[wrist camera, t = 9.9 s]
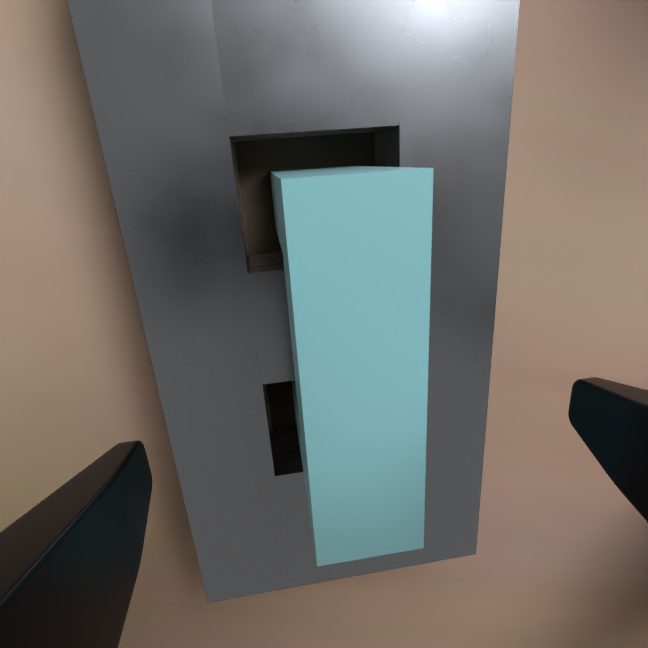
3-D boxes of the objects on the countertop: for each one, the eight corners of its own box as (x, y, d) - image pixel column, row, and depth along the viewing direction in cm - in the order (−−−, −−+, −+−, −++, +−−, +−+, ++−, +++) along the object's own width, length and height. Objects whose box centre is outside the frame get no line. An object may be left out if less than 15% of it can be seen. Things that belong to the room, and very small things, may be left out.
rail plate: (475, -80, 14) (531, -141, 11) (448, 505, 22) (475, 554, 20) (83, -75, 12) (33, -143, 10) (214, 544, 21) (207, 602, 18)
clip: (351, 165, 16) (433, 168, 8) (360, 401, 19) (423, 548, 12) (269, 171, 16) (281, 178, 8) (294, 410, 19) (317, 566, 12)
